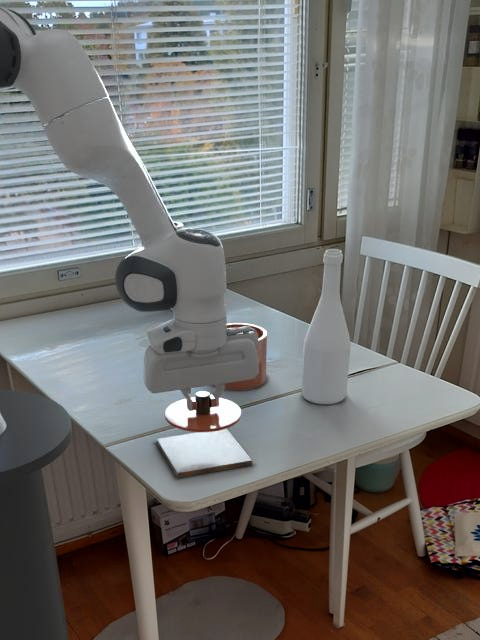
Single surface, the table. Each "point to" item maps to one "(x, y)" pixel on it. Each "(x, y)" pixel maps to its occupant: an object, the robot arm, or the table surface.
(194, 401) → the robot arm
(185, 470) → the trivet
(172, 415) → the canister lid
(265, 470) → the table surface
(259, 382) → the canister
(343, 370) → the wine bottle
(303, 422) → the table surface
